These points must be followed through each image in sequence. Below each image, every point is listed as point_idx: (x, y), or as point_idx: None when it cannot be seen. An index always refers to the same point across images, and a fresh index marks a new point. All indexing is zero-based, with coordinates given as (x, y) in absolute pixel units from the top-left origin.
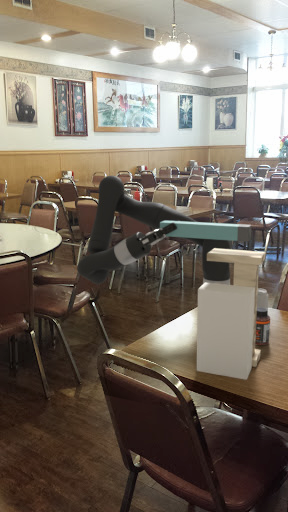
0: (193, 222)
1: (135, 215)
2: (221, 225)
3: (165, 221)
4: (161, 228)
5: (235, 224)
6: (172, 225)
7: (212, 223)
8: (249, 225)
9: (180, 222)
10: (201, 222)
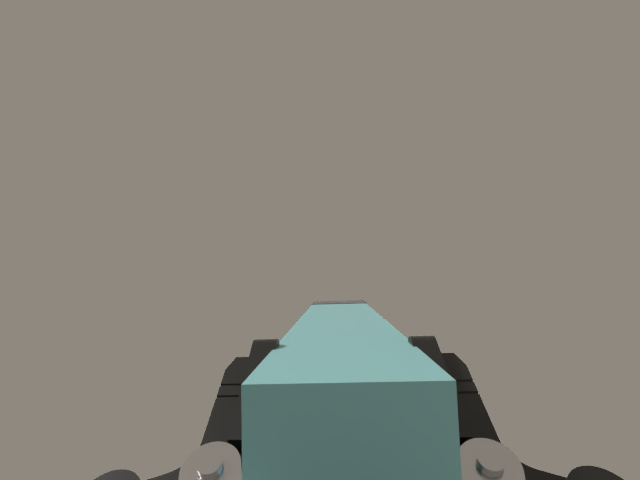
0: (317, 325)
1: None
2: (364, 308)
3: (336, 371)
4: (502, 449)
5: (319, 305)
6: (445, 362)
7: (321, 313)
8: (330, 301)
9: (348, 337)
10: (302, 320)
